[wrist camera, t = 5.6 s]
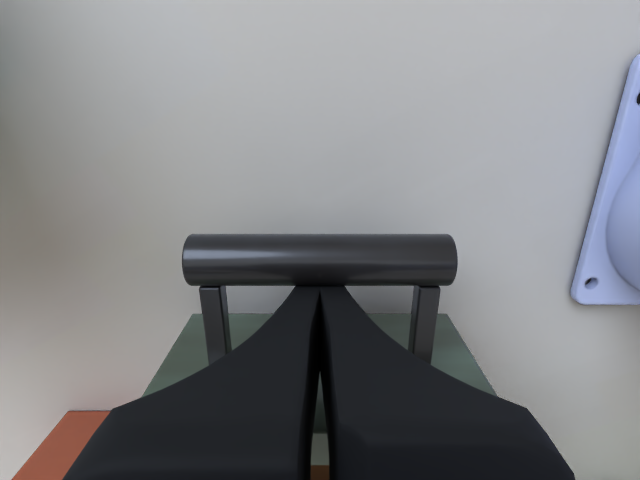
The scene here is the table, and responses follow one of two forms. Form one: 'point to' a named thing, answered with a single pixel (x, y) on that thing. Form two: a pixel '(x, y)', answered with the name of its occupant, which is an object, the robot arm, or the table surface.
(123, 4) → the table surface
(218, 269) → the drawer
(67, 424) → the block
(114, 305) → the table surface
